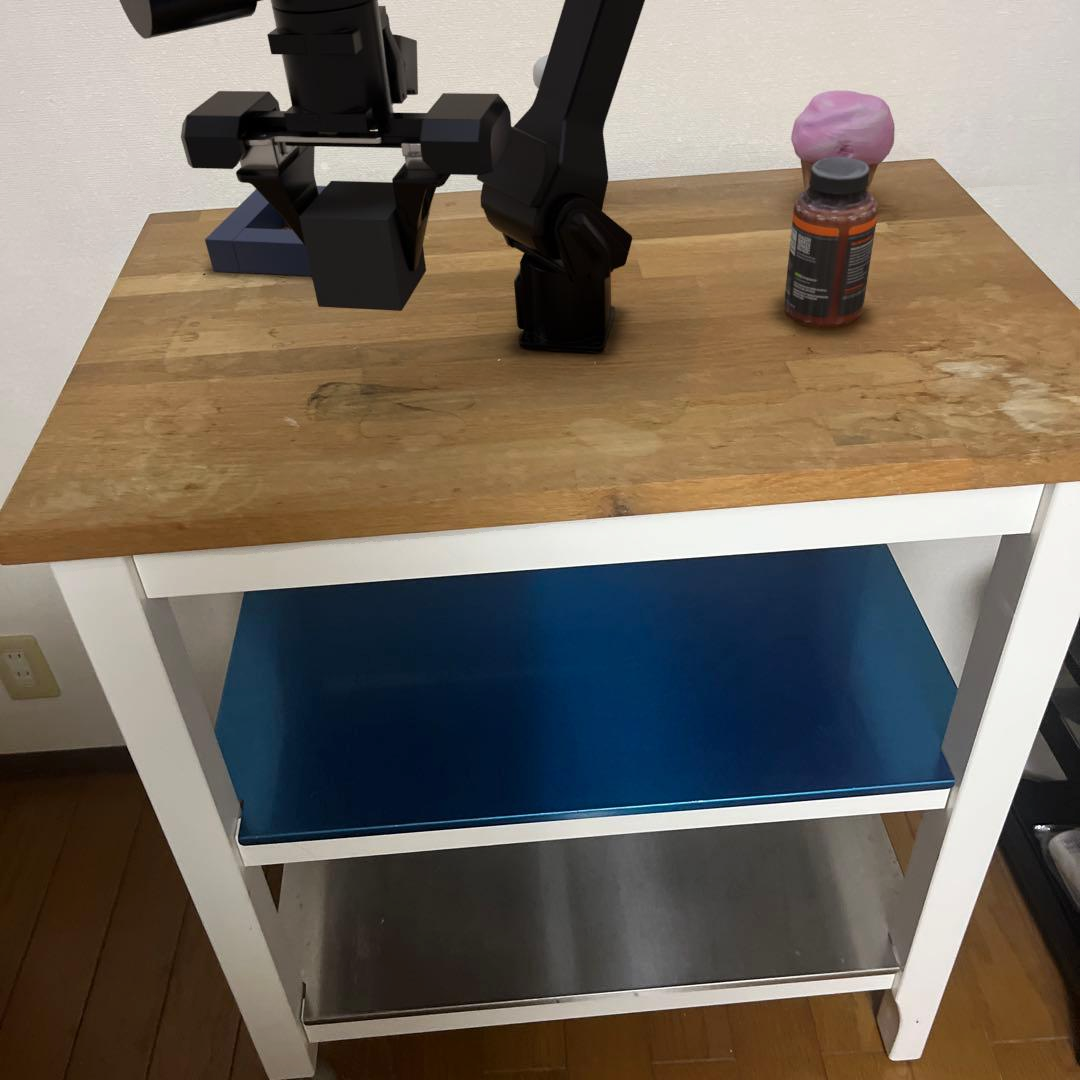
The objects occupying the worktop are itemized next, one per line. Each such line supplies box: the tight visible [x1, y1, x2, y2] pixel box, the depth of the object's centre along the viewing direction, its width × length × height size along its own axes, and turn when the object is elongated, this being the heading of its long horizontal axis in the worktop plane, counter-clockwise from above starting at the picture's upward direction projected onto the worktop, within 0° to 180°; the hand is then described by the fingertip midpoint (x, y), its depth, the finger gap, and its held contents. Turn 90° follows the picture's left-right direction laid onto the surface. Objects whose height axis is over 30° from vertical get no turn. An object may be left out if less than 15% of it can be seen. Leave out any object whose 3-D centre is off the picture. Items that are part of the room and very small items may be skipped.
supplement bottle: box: [783, 157, 879, 328], centre depth 76 cm, size 6×6×11 cm
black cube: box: [299, 180, 427, 312], centre depth 65 cm, size 6×6×6 cm
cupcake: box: [790, 90, 896, 192], centre depth 91 cm, size 9×9×10 cm
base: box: [204, 185, 327, 277], centre depth 93 cm, size 12×12×3 cm
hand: (370, 266), depth 66 cm, fingers closed on black cube, 5 cm apart
